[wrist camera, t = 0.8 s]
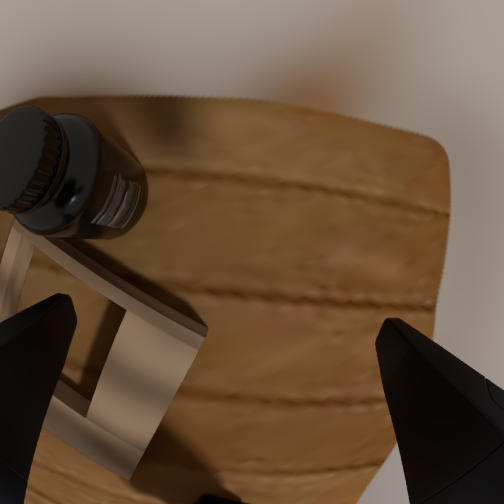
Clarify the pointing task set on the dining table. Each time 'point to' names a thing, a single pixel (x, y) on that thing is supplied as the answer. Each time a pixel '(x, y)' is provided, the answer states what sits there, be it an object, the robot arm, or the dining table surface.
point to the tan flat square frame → (110, 359)
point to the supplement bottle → (67, 177)
